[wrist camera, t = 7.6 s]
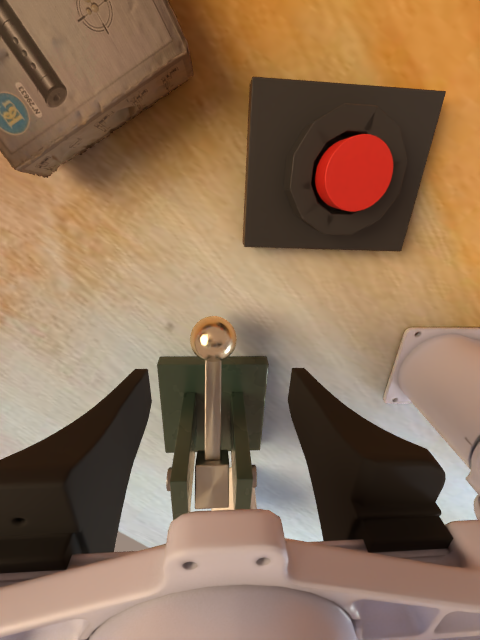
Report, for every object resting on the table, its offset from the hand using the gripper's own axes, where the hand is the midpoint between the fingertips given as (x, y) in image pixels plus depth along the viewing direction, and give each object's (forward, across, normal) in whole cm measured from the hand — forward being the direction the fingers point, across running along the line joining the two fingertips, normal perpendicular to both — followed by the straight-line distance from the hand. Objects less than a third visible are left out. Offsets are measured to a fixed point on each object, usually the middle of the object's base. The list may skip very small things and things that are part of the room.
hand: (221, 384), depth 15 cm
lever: (+5, 0, +6) cm, 8 cm away
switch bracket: (+9, 0, +9) cm, 13 cm away
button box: (+9, -7, -10) cm, 15 cm away
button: (+6, -7, -10) cm, 14 cm away
